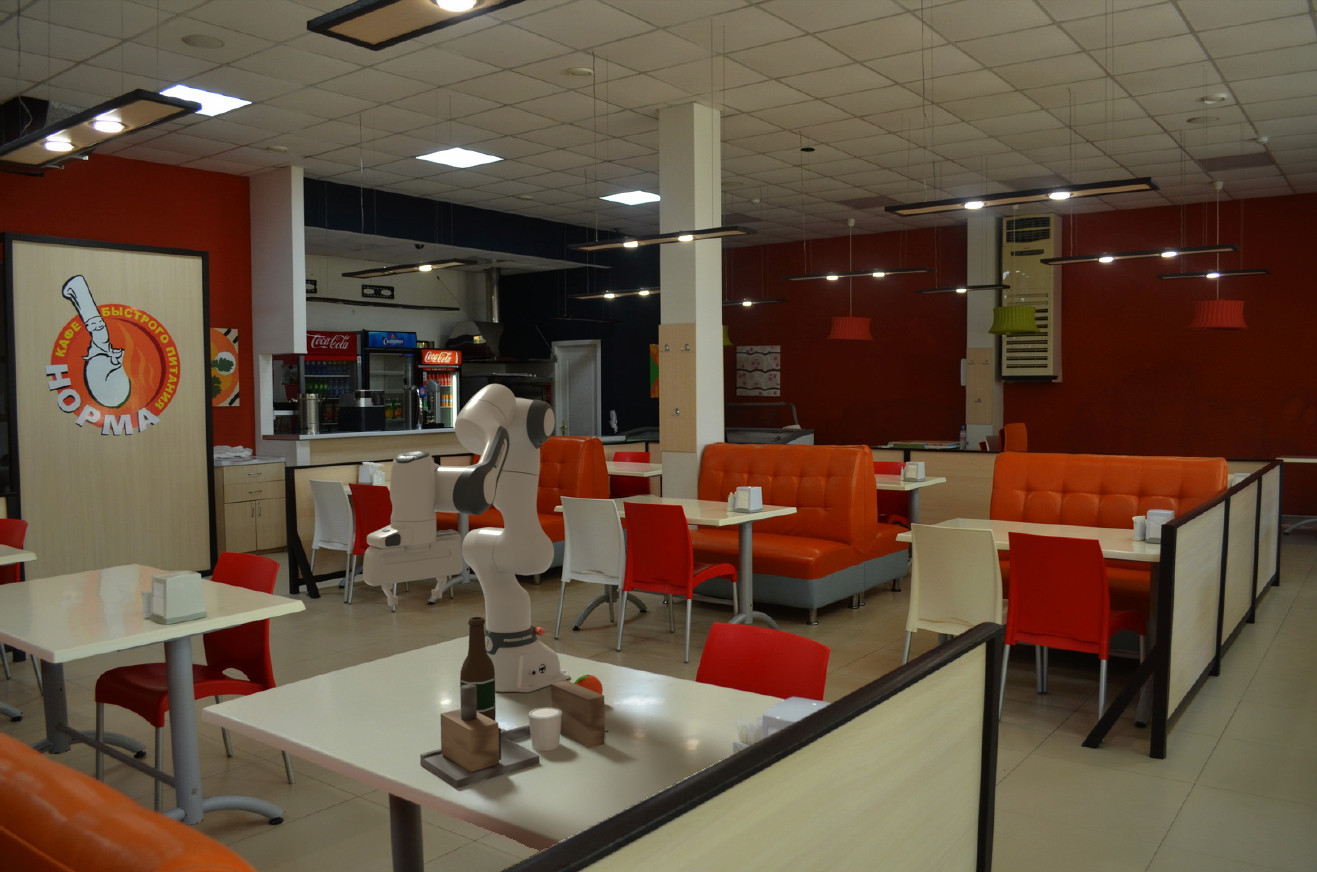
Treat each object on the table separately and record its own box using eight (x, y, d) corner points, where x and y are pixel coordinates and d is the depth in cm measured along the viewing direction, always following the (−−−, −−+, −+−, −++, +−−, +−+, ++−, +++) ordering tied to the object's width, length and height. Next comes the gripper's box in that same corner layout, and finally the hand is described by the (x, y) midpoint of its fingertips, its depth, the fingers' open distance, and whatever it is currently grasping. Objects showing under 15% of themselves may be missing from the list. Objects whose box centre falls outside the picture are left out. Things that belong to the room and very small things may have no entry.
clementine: (581, 713, 215) (580, 682, 214) (563, 705, 220) (563, 675, 220) (609, 705, 220) (608, 674, 220) (590, 697, 225) (590, 668, 225)
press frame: (564, 723, 208) (563, 679, 207) (604, 743, 196) (604, 695, 196) (420, 764, 186) (419, 714, 185) (456, 788, 174) (455, 734, 174)
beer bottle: (466, 735, 201) (464, 624, 200) (456, 724, 208) (454, 616, 207) (501, 729, 205) (499, 619, 204) (490, 718, 212) (488, 612, 210)
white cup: (529, 740, 198) (529, 707, 198) (562, 738, 199) (562, 706, 198) (528, 752, 191) (527, 718, 191) (562, 751, 192) (561, 717, 192)
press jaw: (472, 745, 191) (470, 675, 190) (502, 762, 182) (501, 689, 181) (441, 753, 186) (439, 682, 186) (471, 772, 177) (469, 697, 177)
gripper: (453, 526, 198) (454, 592, 198) (358, 536, 185) (360, 606, 185) (468, 529, 193) (469, 596, 194) (371, 540, 180) (373, 612, 181)
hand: (415, 601), depth 189 cm, fingers open, 8 cm apart
